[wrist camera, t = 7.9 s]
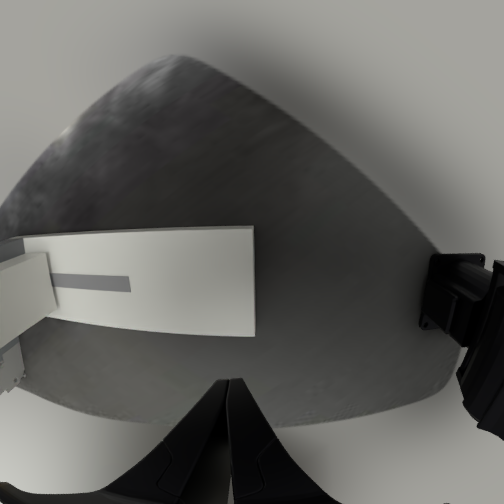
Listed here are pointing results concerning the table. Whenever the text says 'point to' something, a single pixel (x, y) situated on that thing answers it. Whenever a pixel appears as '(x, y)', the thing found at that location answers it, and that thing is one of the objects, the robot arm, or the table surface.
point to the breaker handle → (24, 294)
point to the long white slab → (151, 277)
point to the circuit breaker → (11, 365)
